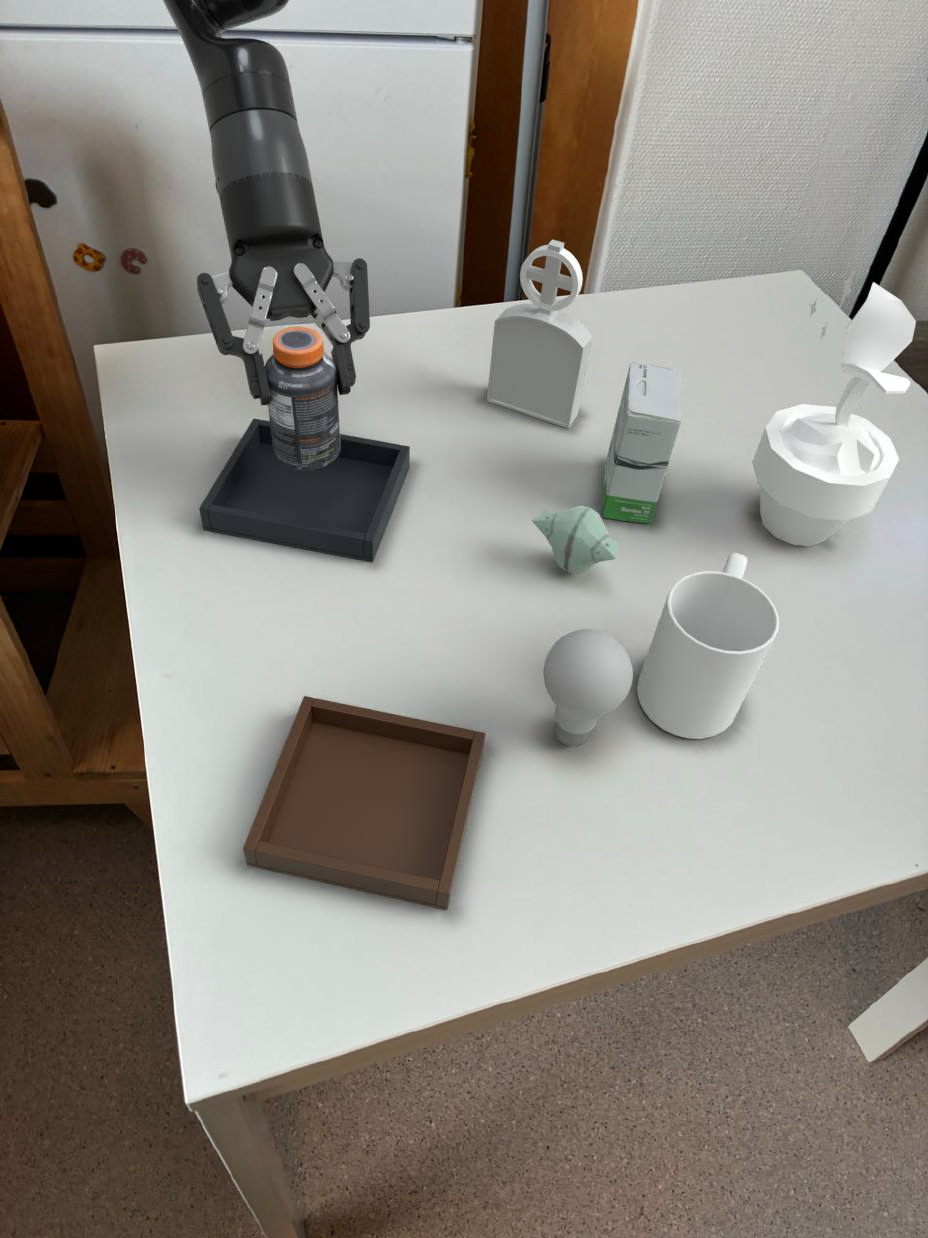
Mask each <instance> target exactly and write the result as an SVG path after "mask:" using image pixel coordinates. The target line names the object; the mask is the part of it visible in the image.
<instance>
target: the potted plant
mask: <svg viewBox="0 0 928 1238" xmlns="http://www.w3.org/2000/svg"><path fill="white" fill-rule="evenodd" d="M857 265H858V264H856V265H855V267H854V268H853V271H852V273H851V274H850V276H849V277H848V279H843V283H844V288H843V289H844V290H843V293H842V298H841V301H840V305H839V308H838V310H840V309H841V307H842V305H843V303H844V301H845V299H846V298H847V296H848V295H852V283H853V278H854V275H855V271H856V269H857ZM817 300H818V298H816V299H815V301H814V302H813V303H812V304H810V303H809V304H808V305H809V307H810V314H809V320H810V319H811V317H812V316H813V314H814V313H817V308H816V305H817ZM916 324H917V320H916V319H915V318H914V316H913V314H912V313H911V312H910V310H909V309H908V308H907V306H906V305H905V304H904V302H903V301H902V299H900V298H898V297H897V296H896V295H894V294H892V293H890V292H889V291H888V290H886V289H884V288H883V287H882V286H880V285H879V284H877V283H876V282H874V281H873V282H872V284H871V287H870V289H869V292H868V295H867V297H866V300H865V302H864V303H863V304H862V305H861V306H860V308H859V310H858V311H857V313H856V314H855V315H854V317H853V318H852V319H851V321H850V322H849V324H848V325H847V327H846V328H845V330H844V334H843V339H842V340H843V342H842V348H841V349H842V350H841V351H842V354H843V358H844V362H841V364H840V367H841V369H842V371H843V372H844V373H846V374H848V375H850V376H853V378H851V380H850V381H849V382H848V383H847V384H846V386H845V388H844V389H843V391H842V394H841V396H840V398H839V400H838V401H837V405H836V407H835V406H830V405H829V406H827V405H826V406H825V405H818V404H817V405H816V404H805V403H801V404H797V405H793V406H790V407H787V408H783V409H779V410H777V411H775V414H774V415H773V416H772V417H771V419H770V420H769V422H768V423H767V424H766V425H765V427H764V429H763V432H762V435H761V437H760V440H759V443H758V444H757V448H756V451H755V453H754V456H753V458H752V461H751V465H752V468H753V471H754V475H755V480H756V483H757V484H758V486H759V512H760V513H759V514H760V518H761V522H762V526H763V527H764V528H766V530H767V531H768V532H769V533H770V534H771V535H773V536H774V537H775V538H776V539H778V540H781V541H783V542H785V543H787V544H790V545H792V546H805V547H813V546H816V545H818V544H821V543H823V542H826V541H827V540H828V539H829V538H830V537H832V536H833V535H834V534H836V532H838V531H839V530H840V529H841V528H842V527H843V526H845V524H847V523H848V522H849V521H851V520H852V519H854V518H858V517H860V516H863V515H866V514H869V513H872V512H873V510H874V508H875V507H876V505H877V503H878V501H879V499H880V497H881V495H882V493H883V491H884V489H885V488H886V486H887V484H888V482H889V480H890V478H891V477H892V475H893V473H894V470H895V469H896V467H897V465H898V463H899V461H900V457H899V455H898V452H897V451H896V449H895V446H894V444H893V441H892V439H891V437H889V436H888V435H887V434H886V433H885V432H883V431H882V430H881V429H880V428H878V427H877V426H876V425H875V424H873V423H872V422H871V421H869V420H868V419H866V418H864V417H863V416H859V415H857V414H854V413H853V412H854V410H855V408H856V407H857V405H858V403H859V401H860V400H861V398H862V396H863V395H864V393H865V391H866V389H867V387H868V386H869V384H872V385H875V386H876V387H877V388H878V389H879V390H880V391H882V393H883V394H887V395H889V394H893V395H894V394H903V395H904V394H906V392H907V390H908V389H909V388H910V386H911V385H912V383H911V381H910V380H909V378H908V377H905V376H904V377H903V376H900V375H895V374H890V373H887V372H882V371H883V370H884V369H886V368H887V367H888V366H889V365H890V364H892V362H894V360H895V359H896V358H897V357H898V356H899V355H900V354H901V353H902V352H903V351H904V350H905V349H906V348H907V347H908V346H909V345H910V344H911V343H912V342H913V338H914V335H915V334H914V333H915V329H916ZM827 326H828V323H825V325H824V326H823V327H821V336H820V339H819V340H820V341H819V342H821V340H822V339H823V338H824V336H826V330H827V329H826V328H827Z"/></svg>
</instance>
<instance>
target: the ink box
mask: <svg viewBox="0 0 928 1238" xmlns="http://www.w3.org/2000/svg"><path fill="white" fill-rule="evenodd" d="M616 414H617V416H616V419H615V423H614V427H613V432H612V435H611V438H610V443H609V446H608V450H607V455H606V459H605V462H604V475H603V476H604V479H603V495H602V507H601V508H602V509H601V511H602V512H601V513H602V514H601V515H602V517H603V518H604V519H611V520H617V521H625V522H631V523H633V522H634V523H641V524H649V525H650V524H652V521H653V518H654V514H655V511H656V507H657V505H658V501H659V498H660V495H661V492H662V487H663V484H664V481H665V478H666V474H667V470H668V467H669V464H670V461H671V458H672V454H673V451H674V447H675V443H676V440H677V437H678V433H679V431H680V427H681V424H682V417H683V416H682V371H681V370H679V369H676V368H675V369H674V368H669V367H664V366H658V365H654V364H647V363H641V362H635V361H632V362H630V364H629V367H628V371H627V375H626V379H625V382H624V387H623V390H622V395H621V399H620V403H619V407H618V411H617V413H616Z"/></svg>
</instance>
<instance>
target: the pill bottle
mask: <svg viewBox="0 0 928 1238" xmlns="http://www.w3.org/2000/svg"><path fill="white" fill-rule="evenodd" d="M264 366H265V371H266V376H267V381H268V386H269V392H270V397H271V403H270V405H267V409H268V418H269V421H270V427H271V435H272V443H273V451H274V454H275V456H276V458H277V459H278V460H279V461H280V462H281V463H283V464H284V465H286V466H288V467H291V468H294V469H300V470H313V469H318V468H321V467H324V466H326V465H328V464H330V463H331V462H333V461H334V460H335V459H336V458H337V456H338V455H339V453H340V449H341V446H340V434H341V431H340V413H339V412H340V410H339V392H338V387H337V373H336V366H335V364H334V362H333V360H332V357H331V356H330V355H329V354H327V353H325V347H324V338H323V336H322V334H321V333H320V332H318V330H316V329H313V328H310V327H308V326H307V327H306V326H290V327H286V328H283V329H281V330H279V331H277V332H276V333H275V334H274V335H273V338H272V354H271V355H270V356H269V357H268V359H267V360H266V361H265V363H264Z"/></svg>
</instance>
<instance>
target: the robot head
mask: <svg viewBox="0 0 928 1238" xmlns="http://www.w3.org/2000/svg"><path fill="white" fill-rule="evenodd" d="M531 522H532V523H533V524H534V525H535V527H537V529H538V530H539V531H540V532H541V534H542V535H543V536H544V537H545V539H546V540H547V542H548V544H549V546H550V547H551V550H552V554H553V555H552V556H553V559H554V560H555V562H556V565H558V567H559V568H561V569H562V570H563V571H565V572H566V573H568V574H572V575H577V576H578V575H580V574H583V573H586V572H588V571H590V570H591V569H592V567H594V566H595V565H597V564H598V563H601V562H607V561H611V560H616V559H617V555H618V551H619V545H620V543H619V542H618V541H616V540H615V539H614V538H612V537H611V536H610V533H609V531H608V529H607V527H606V525H605V524H604V520H603V519H602V517H601V515H600V513H599V512H598V511H596V510H594V509H593V508H592V507H590V506H585V505H578V506H574V507H573V508H570V509H569V508H568V509H566V510H564V511H559V512H553V511H549V510H543V511H542V512H541V513H539V514H538V515H537V516H536V517H534V518H533V519H532V520H531Z"/></svg>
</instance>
